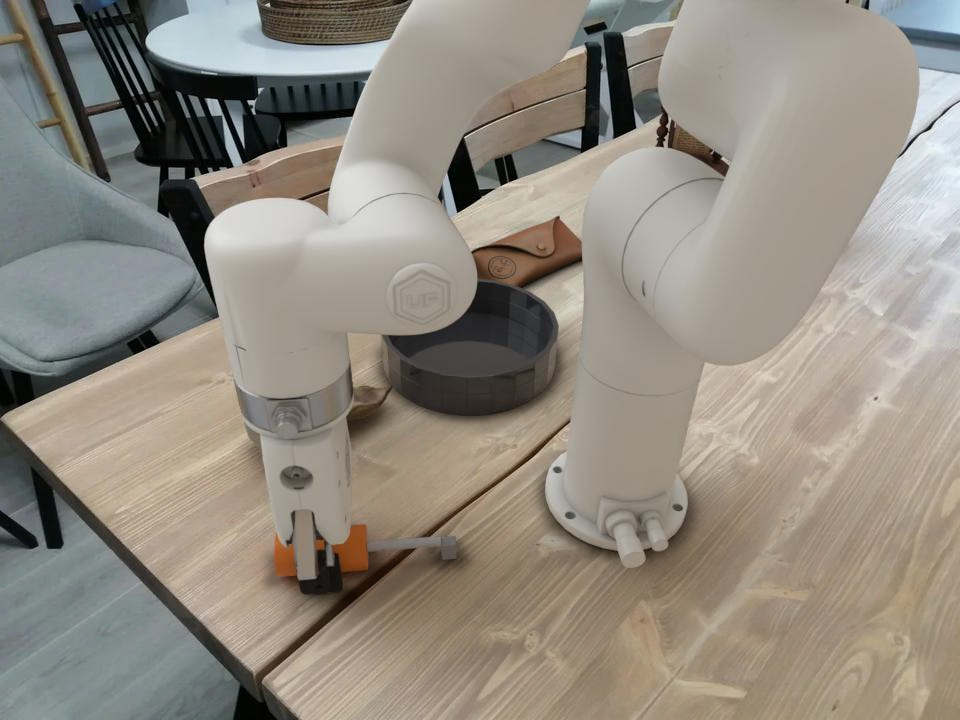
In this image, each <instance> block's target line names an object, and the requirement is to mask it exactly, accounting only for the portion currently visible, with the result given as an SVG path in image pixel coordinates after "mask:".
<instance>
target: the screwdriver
mask: <svg viewBox="0 0 960 720" xmlns="http://www.w3.org/2000/svg"><path fill="white" fill-rule="evenodd" d="M275 533H276V534H275V538H274V544H273V545H274V548H273V561H274V570H275V573H276V576H277V577H279V578H283V577H296V576H297V571H296V566H295V556H294V548H293V541H292V545H289V548H287V547H285V546H284V545H283V544H282V543H281V542H280V540H279V538H278V535H277V532H275ZM456 538H457V537H456V535H447V536H441V535H439V536H438V535H437V536H424V537H412V538H399V539H398V538H397V539H384V540H383V539H382V540H372V541H371V540H370V541H369V536H368V527H367V524H366V523H362V524H361V523H360V524H351V525H350V534H349V537H348V539H347V540H346V541H345V542H344V543H343V544H337V545H334V553H339V560H340V567H341V573H346V572H347V573H349V572H359V571H368V569H369V553H371V552H385V551H397V550H409V549H410V550H411V549H422V548H423V549H424V548H436V547H437V548H439V547H440V550H441V551H440V552H441V560H442V561H445V560H446V561H447V560H456V559H457V539H456ZM323 549H325V546H324V540H316V550H323ZM297 577H298V576H297Z"/></svg>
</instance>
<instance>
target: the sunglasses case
mask: <svg viewBox="0 0 960 720" xmlns="http://www.w3.org/2000/svg"><path fill="white" fill-rule="evenodd" d="M470 251H471V253H472V255H473V258H474V261H475V264H476V269H477V279H486V280H495V281H499V282H503V283H507V284H512V285H515V286H517V287H520V288H521V287H523V286H525V285H527V284H529V283H531V282H534V281H536V280H538V279H540V278H542V277H545V276H547V275H549V274H551V273H554V272H556V271H559V270H561V269H563V268H566V267H568V266H570V265H573V264H574V263H577V262H580V261H581V260H582V239H580V238H579V237H578V236H577V235H576V234H575V233H574V232H573V231H572V230H571V228H569V227H568V226H567V225H566V223H565V222H564V221H562V220H561V216H560V215H557V216H555V217H553V218H551V219H549V220H546V221H544V222H541V223H539V224H535V225H532V226H529V227H527V228H525V229H523V230H520V231H518V232H515V233H512V234H509V235H508V236H505V237H503V238H500V239H498V240H496V241H494V242H491V243H489V244H486V245H482V246H479V247H476V248H474V249H473V250H470Z"/></svg>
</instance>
